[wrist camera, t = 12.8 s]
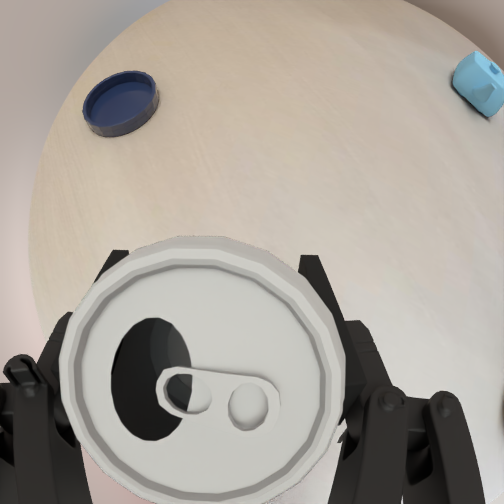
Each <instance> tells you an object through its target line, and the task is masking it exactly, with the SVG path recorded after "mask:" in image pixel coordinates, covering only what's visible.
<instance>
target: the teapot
mask: <svg viewBox="0 0 504 504" xmlns="http://www.w3.org/2000/svg"><path fill="white" fill-rule="evenodd" d="M453 86H454V87H455V88H456V89H457V92H458V93H459V94H460V95H461V96H464V97H465V98H466V99H467V100H468V101H469V102H470V103H471V104H473V105H474V106H475V108H476V109H477V110H478V111H479V112H482V113H483V114H484V115H485V116H487V117H490V116H493V115H495V114H496V113H497V112H498V111H499V109H500V108H501V107H502V105H503V104H504V75H503V74H502V73H501V70H500V68H499V67H498V66H497V65H496V64H495V63H494V62H491V61H489V60H488V59H486V58H485V57H484V56H483V55H482V54H480V53H479V52H478V51H475V52H473V53H471V54H470V55H468V56H467V57H465V58H464V59H463V60H462V61H461V62H460V63H459V64H458V65H457V67H456V69H455V72H454V77H453Z"/></svg>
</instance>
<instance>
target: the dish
mask: <svg viewBox="0 0 504 504" xmlns="http://www.w3.org/2000/svg"><path fill="white" fill-rule="evenodd" d="M157 105H158V91H157V87H156V83H155V82H154V80H153V78H152V77H151V76H150V75H148V74H146V73H145V72H140V71H124V72H120V73H117V74H114V75H112V76H110V77H108V78H106V79H104V80H103V81H101V82H100V83H99V84H97V85H96V86H95V87H94V88H93V89H92V90H91V92H90V93H89V94H88V95H87V97H86V99H85V101H84V104H83V111H82V112H83V115H84V119H85V120H86V122H87V124H88V125H89V127H90V128H91V129H92V130H93V131H94V132H95V133H96V134H98V135H101V136H105V137H116V136H121V135H124V134H127V133H130V132H132V131H134V130H136V129H137V128H139V127H140V126H142V125H143V124H144V123H146V122H147V121H148V120H149V119H150V117H151V116H152V115H153V113H154V112H155V110H156V108H157Z"/></svg>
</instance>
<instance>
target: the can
mask: <svg viewBox="0 0 504 504" xmlns="http://www.w3.org/2000/svg"><path fill="white" fill-rule="evenodd" d="M122 338H124V340H123V343H122V346H121V349H120V353H119V356H118V359H117V362H116V365H115V369H114V372H113V375H111V369H112V365H113V360H114V356H115V352H116V350H117V348H118V346H119V344H120V342H121V340H122ZM345 358H346V356H345V353H344V349H343V346H342V343H341V340H340V337H339V334H338V331H337V327H336V324H335V321H334V318H333V315H332V313H331V312H330V311H329V309H328V308H327V306H326V305H325V304H324V302H323V301H322V300H321V298H320V297H319V296H318V294H317V293H316V291H315V290H314V289H313V287H312V286H311V285H310V283H309V282H308V281H307V279H306V278H305V277H304V276H302V275H301V274H299V273H298V272H297V271H295V270H294V269H292V268H291V267H290V266H288V265H287V264H286V263H284V262H283V261H281V260H280V259H279V258H277V257H276V256H275V255H273V254H272V253H270V252H269V251H267V250H264V249H261V248H258V247H255V246H252V245H249V244H246V243H243V242H240V241H237V240H234V239H231V238H228V237H225V236H177V237H174V238H170V239H167V240H164V241H161V242H157V243H154V244H151V245H148V246H145V247H141V248H138V249H136V250H135V251H133V252H132V253H130V254H129V255H128V256H126V257H125V258H123V259H122V260H121V261H119V262H118V263H117V264H115V265H114V266H112V267H111V268H110V269H108V270H107V271H106V272H104V273H103V274H102V275H101V276H100V278H99V279H98V281H96V282H95V283H94V284H93V285H92V286H91V288H90V289H89V290H88V292H87V293H86V295H85V296H84V298H83V299H82V301H81V302H80V304H79V305H78V306H77V308H76V309H75V311H74V312H73V314H72V316H71V317H70V319H69V322H68V325H67V329H66V333H65V336H64V340H63V344H62V348H61V352H60V356H59V373H60V388H61V399H62V402H63V405H64V408H65V411H66V413H67V416H68V418H69V421H70V423H71V426H72V428H73V431H74V433H75V435H76V438H77V439H78V441H79V442H80V444H81V445H82V446H83V447H84V449H85V450H86V451H87V453H88V454H89V455H90V456H91V458H92V459H93V460H94V461H95V463H96V464H97V465H98V466H99V467H100V468H101V470H102V471H103V472H104V473H105V474H107V475H108V476H109V477H111V478H112V479H113V480H115V481H116V482H117V483H119V484H120V485H122V486H123V487H125V488H126V489H127V490H129V491H130V492H132V493H133V494H135V495H136V496H138V497H140V498H143V499H145V500H148V501H151V502H153V503H156V504H264V503H266V502H268V501H270V500H271V499H273V498H275V497H277V496H278V495H280V494H282V493H284V492H285V491H287V490H288V489H290V488H292V487H293V486H295V485H296V484H298V483H300V482H301V481H302V479H303V478H304V477H305V476H306V475H307V474H308V473H309V472H310V470H311V469H312V468H313V467H314V466H315V465H316V464H317V462H318V461H319V460H320V459H321V458H322V456H323V455H324V454H325V453H326V452H327V450H328V447H329V445H330V443H331V440H332V438H333V435H334V433H335V430H336V428H337V425H338V423H339V420H340V417H341V415H342V412H343V401H344V398H345Z"/></svg>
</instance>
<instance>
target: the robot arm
mask: <svg viewBox="0 0 504 504" xmlns="http://www.w3.org/2000/svg"><path fill="white" fill-rule="evenodd" d="M128 255H129V250H113V251H112V252H111V254H110V256H109V257H108V259H107V260H106V262H105V264H104V265H103V267H102V269H101V271H100V272H99V274H98V276H97V277H96V279H95V281H94V283H95V282H96V281H98V279H99V278H100V276H101V275H102V274H103V273H104V272H106V271H107V270H108V269H110V268H111V267H112V266H114V265H115V264H117V263H118V262H119V261H121V260H122V259H123V258H125V257H126V256H128ZM298 273H299V274H301V275H302V276H304V277H305V278H306V279H307V281H308V282H309V283H310V285H311V286H312V287H313V289H314V290H315V291H316V293H317V294H318V296H319V297H320V298H321V300H322V301H323V302H324V304H325V305H326V306H327V308H328V309H329V311H330V312H331V313H332V315H333V318H334V321H335V324H336V327H337V331H338V334H339V337H340V340H341V343H342V346H343V349H344V353H345V356H346V358H345V398H344V401H343V412H342V415H341V417H340V420H339V423H338V425H340V424H341V423H342V421H343V420H344V419H345V420H346V424H347V429H346V430H345V431H344V432H343V434H342V435H341V436H340V438H339V440H338V442H337V443H341V442H342V446H341V451H340V456H339V460H338V465H337V469H336V473H335V477H334V481H333V485H332V489H331V493H330V497H329V500H328V504H401V500H402V495H403V504H485V498H484V492H483V487H482V481H481V477H480V472H479V467H478V463H477V459H476V455H475V451H474V447H473V443H472V439H471V436H470V432H469V429H468V425H467V422H466V419H465V416H464V413H463V409H462V406H461V404H460V402H459V400H458V398H457V397H456V396H455V395H454V394H452V393H450V392H448V391H439V392H436V393H435V394H434V395H433V396H432V397H431V398H430V399H422V398H413V397H408V396H406V395H405V394H404V392H403V391H402V390H400V389H399V388H398V387H395V386H393V385H392V383H391V381H390V379H389V376H388V374H387V371H386V369H385V366H384V364H383V362H382V359H381V357H380V354H379V352H378V351H377V347H376V345H375V343H374V342H373V338H372V336H371V334H370V331H369V329H368V328H367V327H366V326H365V325H364V324H363V323H362V322H361V321H360V320H354V321H345V320H344V318H343V315H342V313H341V310H340V308H339V305H338V303H337V300H336V298H335V295H334V293H333V290H332V288H331V285H330V283H329V280H328V278H327V276H326V273H325V271H324V269H323V266H322V264H321V261H320V259H319V257H318V255H301V258H300V263H299V269H298ZM94 283H93V284H94ZM93 284H92V285H93ZM72 314H73V312H67V313H66V314H65V315H64V316H63V317H62V318H60V319H59V321H58V322H57V324H56V326H55V328H54V330H53V332H52V334H51V336H50V337H49V340H48V341H47V343H46V345H45V347H44V349H43V352H42V354H41V356H40V358H39V360H38V362H37V364H36V363H35V361H34V360H33V358H32V357H30V356H28V355H25V354H20V355H17V356H14V357H13V358H11V359H10V360H9V361H8V362H7V363H6V365H5V367H4V371H3V373H4V375H5V376H6V377H7V378H8V380H9V381H10V382H11V383H0V426H1V427H0V504H93V503H92V499H91V495H90V491H89V487H88V482H87V478H86V473H85V468H84V463H83V457H82V451H81V445H80V442H79V441H78V439H77V438H76V435H75V433H74V431H73V428H72V426H71V423H70V421H69V418H68V416H67V413H66V411H65V408H64V405H63V402H62V399H61V388H60V373H59V356H60V352H61V348H62V344H63V340H64V336H65V333H66V329H67V325H68V322H69V319H70V317H71V316H72ZM123 340H124V338H122V340H121V342H120V344H119V346H118V348H117V350H116V352H115V356H114V360H113V365H112V369H111V375H113V372H114V369H115V365H116V362H117V359H118V356H119V353H120V349H121V346H122V343H123ZM338 425H337V426H338ZM342 440H343V441H342Z"/></svg>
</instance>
